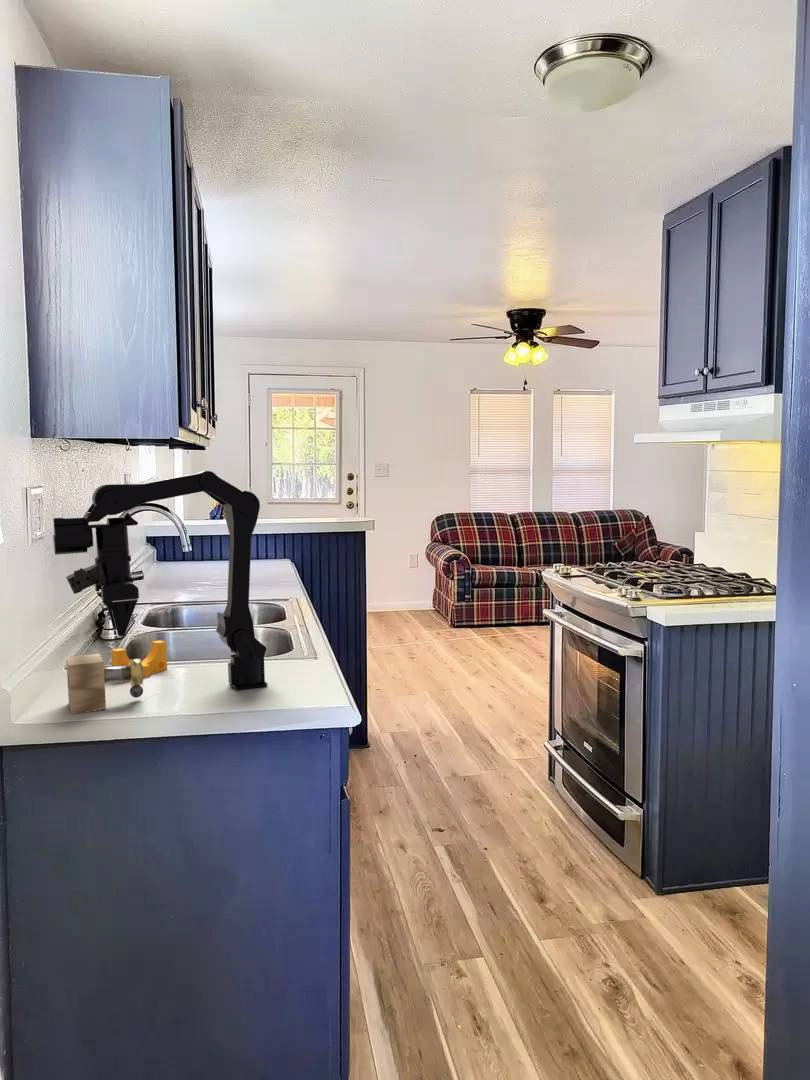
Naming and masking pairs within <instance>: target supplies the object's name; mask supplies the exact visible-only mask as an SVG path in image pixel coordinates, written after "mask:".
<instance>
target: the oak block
mask: <svg viewBox="0 0 810 1080" xmlns="http://www.w3.org/2000/svg"><path fill="white" fill-rule="evenodd" d="M104 668H105V663H104V659H103V657H102V655H101V654H100V653H92V654H81V655H75V656H66V674H67V675H66V676H67V679H66V680H67V694H68V695H67V697H68V706H70V707H69V709H70V715H74V714H73V713H76V714H82V713H81V712H83V713H88V712H87V711H91V712H95V711H94V710H99V711H102V710H101V709H106V710H107V703H106V701H107V700H106V687H105V686H106V685H105V679H104Z"/></svg>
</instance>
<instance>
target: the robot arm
mask: <svg viewBox="0 0 810 1080" xmlns="http://www.w3.org/2000/svg"><path fill="white" fill-rule="evenodd" d="M201 492H204V493H205V494H206V495H208V496H209V497H210V498H212V499H213V500H215V501H216V502H217V503H219V505H222V506H223V509H224V516H225V522H226V525H227V530H228V533H229V553H228V575H227V576H228V577H227V580H228V581H227V602H226V606H225V609H224V611H223V612H216V617H217V618H216V619H217V628H216V630H215V632H216V633H217V634H218V635H219V639H220V641H221V642H222V643H223V644H224V645H226V647H228V648H229V650H230V652H231V654H230V662H228V663H227V671H228V672H227V674H228V675H227V676H228V683H229V685H230V686H231V687H233V688H234V689H235V690H245V689H254V688H260V687H267V686H268V682H266V674H265V654H266V651H267V647H266V646H265V645H264V644H263V643H262V642H260V641H259V640H258V639H257V638H256V636H255V628H254V621H253V616H252V613H251V610H250V581H251V578H250V577H251V554H252V553H251V552H252V538H253V534H254V530H255V528H256V525H257V522H258V519H259V518H258V517H259V514H260V513H259V512H260V509H261V504H260V503H261V502H260V500H259V498H258V496H257V495H256V494H255V493H253V492H251V491H247V490H240V489H239V488H238V487H236V486H234V485H233V484H231V483H229V482H228V481H226V480H224V479H223V478H221V477H219V476H218V475H217V474H216V473H214V471H211V470H202V471H199V472H197V473H193V474H187V475H181V476H176V477H172V478H166V479H160V480H154V481H150V482H145V483H144V482H143V483H113V484H112V483H110V484H109V483H107V484H101V485H100V486H97V488H95V490H94V492H93V494H92V497H91V501H92V504H91V505H90V507H89V508H88V509H87V511H85V512H84V513H85V514H84V515H83V516H82V517H69V518H68V517H66V518H65V517H54V518H53V519H52V521H53V534H52V541H53V543H52V544H53V548H54V549H53V551H54V555H55V556H57V555H69V554H71V555H72V554H73V555H74V554H82V553H83V554H84V553H86V554H87V553H88V549H90V548H92V547H94V535H93V529H95V540H96V552H97V553H96V557H94V564H92V565H90V566H87V567H84V568H83V567H80V568H79V569H77V570H74V571H73V573H72V574H68V575H67V576H66V580H67V582H68V584H69V587H70V588H71V591H72V593H73V594H74V595H76V594H78V593H82V591H83V590H85V589H87V588H90V587H92V586H94V590H95V592H96V595H97V596H98V597H99V598H100V599H101V601H102V604H103V605H104V606H106V608H107V611H108V614H109V618H110V622H111V625H112V628H113V629H116V632H117V635H118V636H119V637H125V636H126V633H127V630H128V628H129V624H130V622H131V618H132V616H133V613H134V611H135V609H136V605H137V603H138V601H139V600H138V599H139V598H140V593H139V592H140V591H139V587H137V585H135V583H133V577H132V576H131V575H132V574H131V572H132V571H131V561H132V558H131V557H132V556H131V555H130V549H129V548H130V544H129V533H128V532H129V531H128V530H129V529H128V527H129V526H131V527H133V526H138V525H139V522H138V521H137V520H135V518H133V517H132V516H131V514H130V513H128V512H126V511H129V510H132V509H135V508H137V507H139V506H141V505H143V504H146V503H150V502H154V501H155V502H156V501H160V500H165V499H170V498H176V497H180V496H181V497H182V496H186V495H187V496H188V495H191V494H196V493H201ZM125 512H126V513H125ZM122 513H125V514H124V515H123V516H120V517H108V518H107V519H106V523H95V522H100V521H102V520H103V519H104V518H105V517H107V516H116V515H119V514H122ZM89 523H95V524H89ZM253 687H254V688H253Z"/></svg>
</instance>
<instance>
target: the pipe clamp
mask: <svg viewBox="0 0 810 1080" xmlns="http://www.w3.org/2000/svg"><path fill="white" fill-rule="evenodd" d="M149 650H150V651H149V653H148V654H147V655H146V657H145V658H144V659H143V660H141V662H142V670H143V678H146V677H151V674H154V673H159V672H162V671H163V670H164V671H167V670H168V655H167V653H168V652H167V641H163V640H159V639H158V640H154V641H151V647H150V649H149ZM110 655H111V657H110V658H111V667H115V666H124V665H129V660H130V658H129V656H128V654H127V649H125V648H120V647H119V648H114V649H111V650H110ZM166 669H167V670H166ZM150 673H151V674H150Z"/></svg>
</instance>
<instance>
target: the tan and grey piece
mask: <svg viewBox="0 0 810 1080" xmlns="http://www.w3.org/2000/svg"><path fill="white" fill-rule="evenodd" d="M141 661H142V659H141V658H134V659H129V665H124V666H115V667H112V666H106V667H104V679H105V684H113V683H114V684H115V683H120V682H121V683H123V681H126V682H129V684H130V686H131V687H130V689H129V694H130V696H131V697H133V698H135V699H137V698H140V697H141V696H142V695H143V693H144V689H143V683H144V677H143V670H142V662H141Z"/></svg>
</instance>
